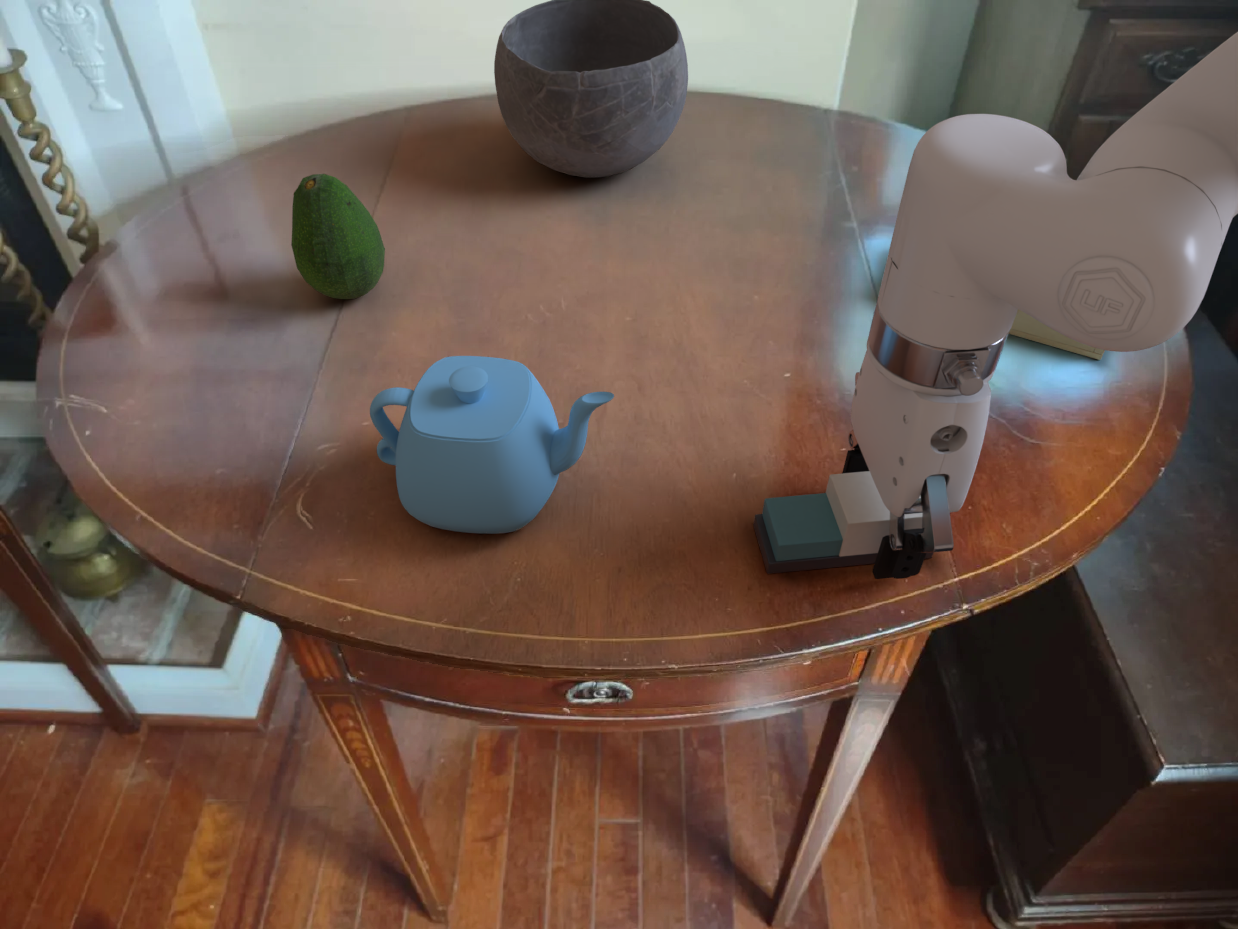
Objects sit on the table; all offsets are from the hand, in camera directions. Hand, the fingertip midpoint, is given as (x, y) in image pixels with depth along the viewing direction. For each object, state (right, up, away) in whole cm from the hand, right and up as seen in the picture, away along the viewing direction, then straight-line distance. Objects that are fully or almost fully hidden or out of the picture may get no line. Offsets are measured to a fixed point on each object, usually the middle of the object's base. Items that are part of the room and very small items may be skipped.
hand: (877, 528), depth 68 cm
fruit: (-44, +21, +22) cm, 53 cm away
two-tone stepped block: (-3, -1, +1) cm, 3 cm away
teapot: (-28, +3, +5) cm, 28 cm away
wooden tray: (+18, +20, +21) cm, 34 cm away
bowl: (-21, +39, +39) cm, 59 cm away
